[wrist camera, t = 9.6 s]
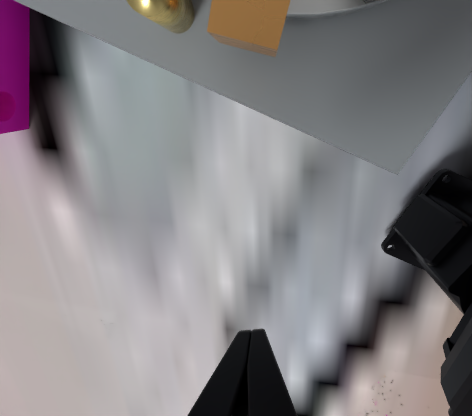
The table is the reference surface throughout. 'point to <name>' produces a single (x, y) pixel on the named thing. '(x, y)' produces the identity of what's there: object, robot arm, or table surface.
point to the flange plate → (270, 19)
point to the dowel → (166, 13)
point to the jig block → (313, 67)
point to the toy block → (14, 66)
